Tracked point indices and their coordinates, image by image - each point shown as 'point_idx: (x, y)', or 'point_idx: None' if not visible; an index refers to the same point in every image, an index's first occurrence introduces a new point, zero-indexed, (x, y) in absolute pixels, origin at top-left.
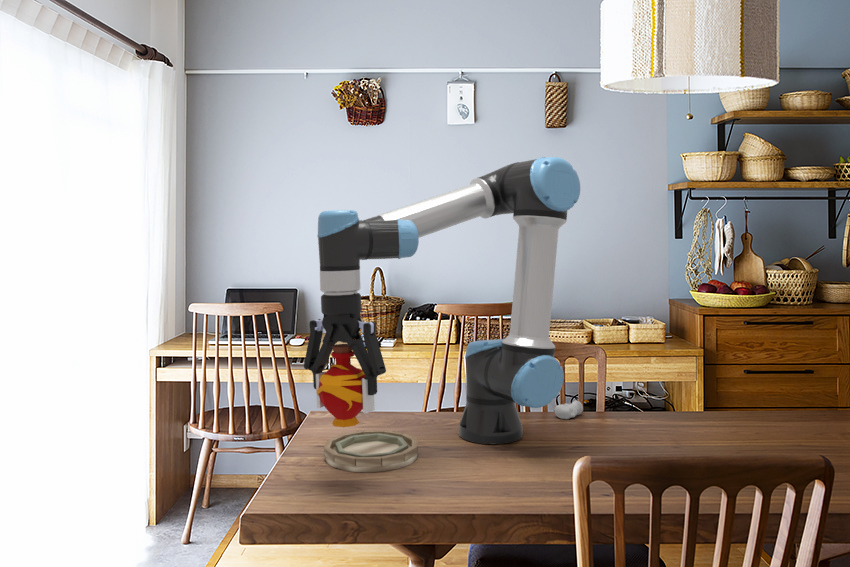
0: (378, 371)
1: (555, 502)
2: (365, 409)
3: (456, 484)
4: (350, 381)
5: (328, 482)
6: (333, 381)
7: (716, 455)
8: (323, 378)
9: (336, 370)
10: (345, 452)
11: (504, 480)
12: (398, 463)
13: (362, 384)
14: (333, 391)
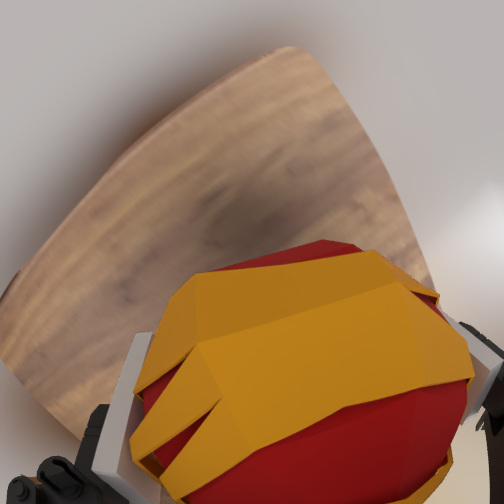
0: (9, 494)
1: (4, 355)
2: (137, 344)
3: (102, 352)
4: (164, 432)
5: (290, 228)
6: (303, 357)
7: None
8: (441, 345)
9: (367, 478)
10: None
11: (77, 389)
12: None
13: (120, 440)
14: (260, 284)
